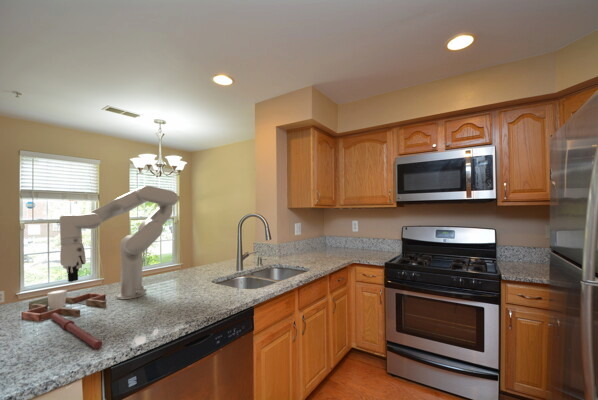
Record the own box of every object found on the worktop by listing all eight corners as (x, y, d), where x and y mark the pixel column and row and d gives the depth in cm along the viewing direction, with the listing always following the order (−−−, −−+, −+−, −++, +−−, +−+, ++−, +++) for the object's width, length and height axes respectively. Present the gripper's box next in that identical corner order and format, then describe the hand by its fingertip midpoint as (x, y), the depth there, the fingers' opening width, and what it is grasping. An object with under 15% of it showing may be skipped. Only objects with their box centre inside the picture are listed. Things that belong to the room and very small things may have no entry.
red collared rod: (48, 320, 107) (48, 313, 108) (58, 318, 110) (59, 310, 110) (92, 352, 82) (92, 342, 83) (104, 348, 85) (104, 338, 85)
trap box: (121, 301, 129) (121, 294, 129) (56, 324, 103) (56, 315, 103) (76, 296, 138) (76, 289, 138) (6, 315, 113) (6, 307, 113)
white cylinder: (70, 304, 125) (71, 289, 126) (54, 310, 119) (55, 294, 119) (59, 303, 127) (59, 289, 127) (42, 309, 120) (43, 293, 120)
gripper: (91, 239, 123) (93, 279, 123) (69, 240, 128) (71, 278, 127) (73, 242, 116) (75, 284, 116) (50, 242, 120) (52, 282, 120)
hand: (73, 280), depth 122 cm, fingers closed
